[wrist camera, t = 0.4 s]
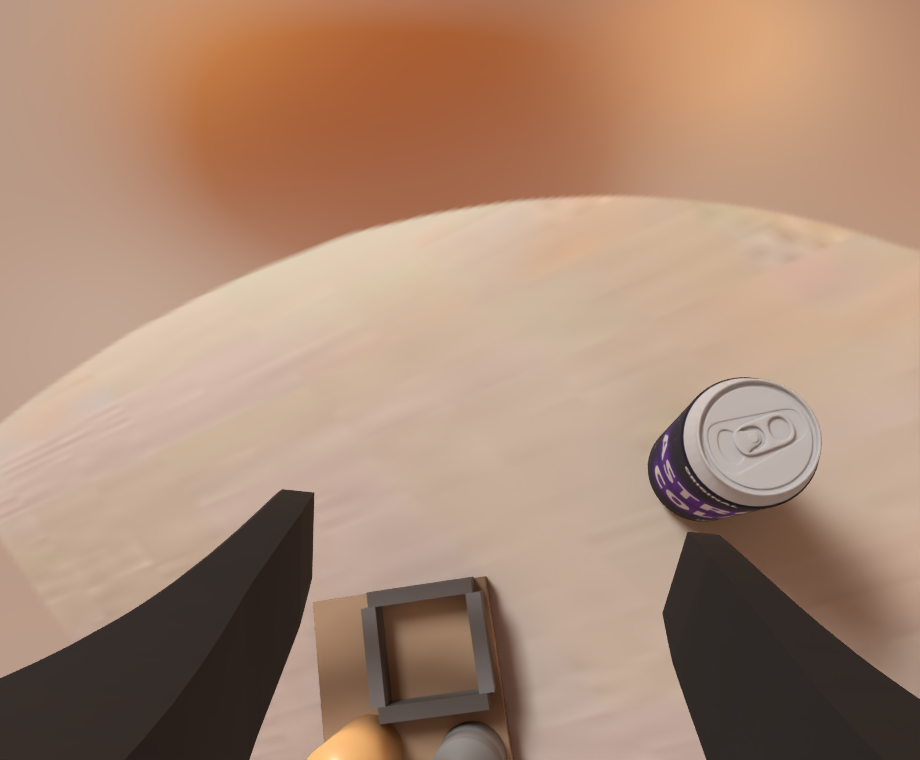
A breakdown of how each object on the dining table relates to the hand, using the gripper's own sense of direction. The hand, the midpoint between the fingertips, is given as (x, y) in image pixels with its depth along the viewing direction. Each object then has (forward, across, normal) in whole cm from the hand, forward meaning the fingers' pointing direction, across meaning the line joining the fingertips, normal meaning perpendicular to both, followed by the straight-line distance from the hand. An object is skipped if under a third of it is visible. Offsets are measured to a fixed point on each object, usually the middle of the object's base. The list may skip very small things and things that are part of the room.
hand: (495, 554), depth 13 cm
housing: (+17, +1, +23) cm, 29 cm away
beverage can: (+23, -14, +11) cm, 29 cm away
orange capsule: (+14, +3, +25) cm, 29 cm away
